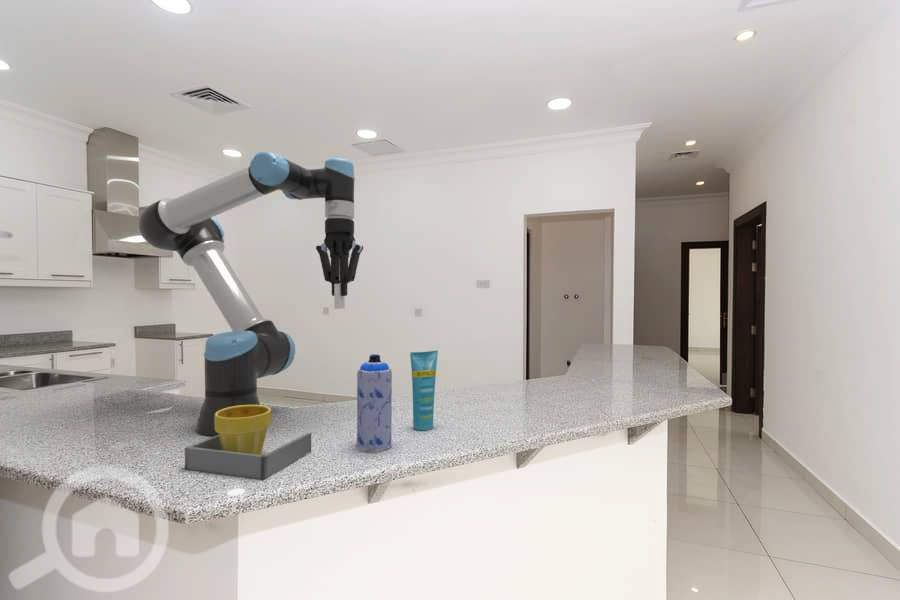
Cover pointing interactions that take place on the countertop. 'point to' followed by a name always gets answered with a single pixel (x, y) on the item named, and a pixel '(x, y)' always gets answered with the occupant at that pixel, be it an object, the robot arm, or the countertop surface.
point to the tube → (423, 388)
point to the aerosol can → (374, 406)
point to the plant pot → (243, 428)
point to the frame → (244, 458)
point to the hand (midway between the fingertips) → (339, 308)
